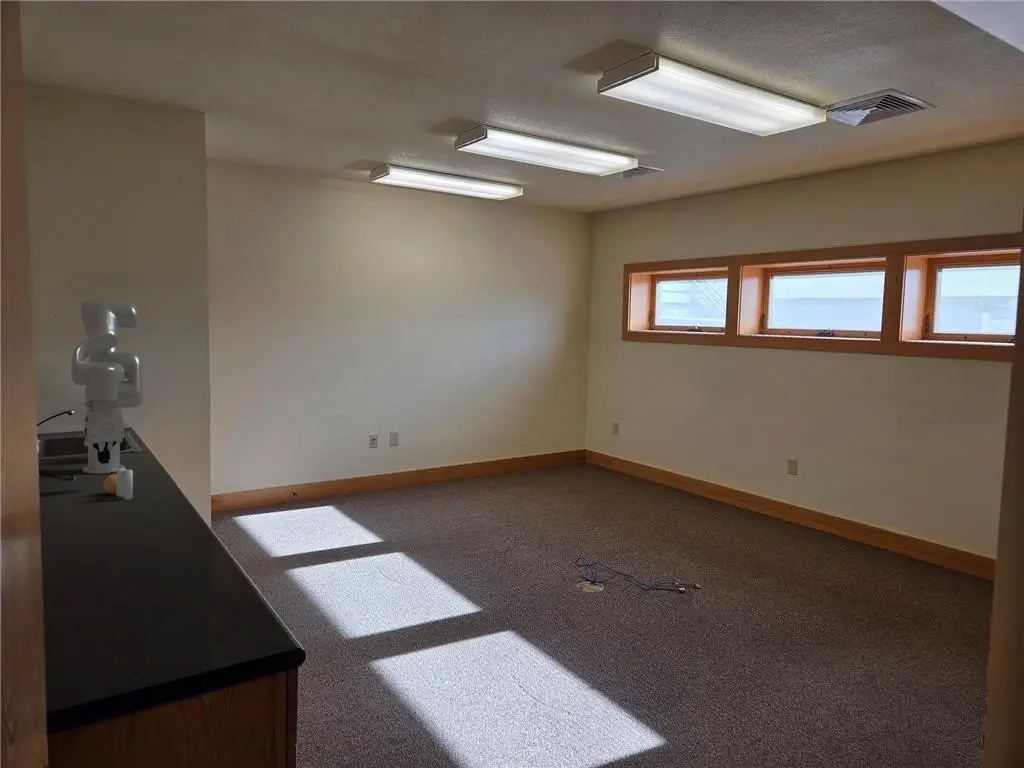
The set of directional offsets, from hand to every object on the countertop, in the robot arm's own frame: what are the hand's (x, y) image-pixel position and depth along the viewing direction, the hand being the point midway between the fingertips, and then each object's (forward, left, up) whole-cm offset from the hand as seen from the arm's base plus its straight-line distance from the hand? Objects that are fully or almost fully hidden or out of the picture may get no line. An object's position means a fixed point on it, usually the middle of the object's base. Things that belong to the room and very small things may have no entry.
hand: (103, 462), depth 208 cm
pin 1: (+12, +3, -8) cm, 15 cm away
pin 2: (+17, +4, -8) cm, 19 cm away
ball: (+9, +2, -5) cm, 10 cm away
